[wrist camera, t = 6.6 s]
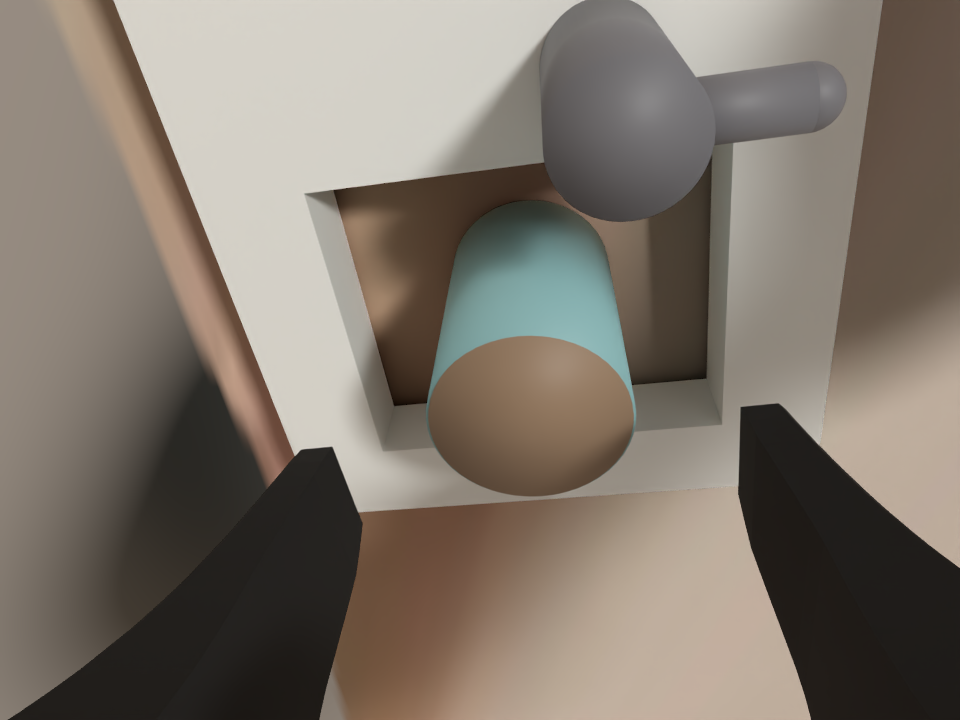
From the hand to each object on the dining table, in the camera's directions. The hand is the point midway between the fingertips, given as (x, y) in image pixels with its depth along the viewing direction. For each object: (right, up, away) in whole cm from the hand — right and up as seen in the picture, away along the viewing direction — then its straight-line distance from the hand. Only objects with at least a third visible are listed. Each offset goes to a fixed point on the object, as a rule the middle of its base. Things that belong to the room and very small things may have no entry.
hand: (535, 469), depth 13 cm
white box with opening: (0, +7, +4) cm, 8 cm away
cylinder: (0, +4, +6) cm, 7 cm away
